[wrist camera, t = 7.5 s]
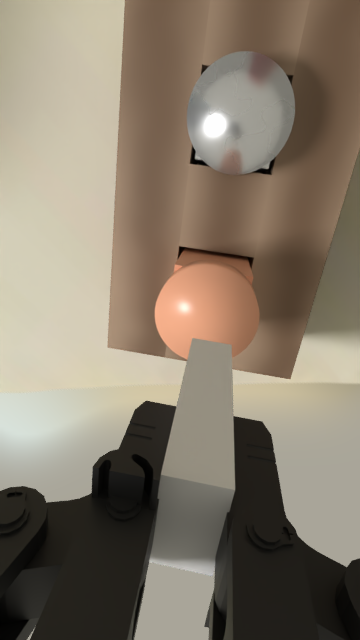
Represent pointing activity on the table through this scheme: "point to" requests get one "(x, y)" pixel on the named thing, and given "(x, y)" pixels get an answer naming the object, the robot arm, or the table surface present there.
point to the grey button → (240, 113)
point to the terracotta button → (208, 302)
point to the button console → (222, 189)
